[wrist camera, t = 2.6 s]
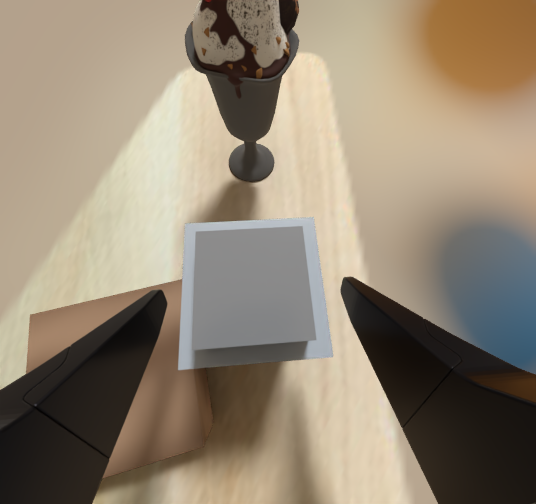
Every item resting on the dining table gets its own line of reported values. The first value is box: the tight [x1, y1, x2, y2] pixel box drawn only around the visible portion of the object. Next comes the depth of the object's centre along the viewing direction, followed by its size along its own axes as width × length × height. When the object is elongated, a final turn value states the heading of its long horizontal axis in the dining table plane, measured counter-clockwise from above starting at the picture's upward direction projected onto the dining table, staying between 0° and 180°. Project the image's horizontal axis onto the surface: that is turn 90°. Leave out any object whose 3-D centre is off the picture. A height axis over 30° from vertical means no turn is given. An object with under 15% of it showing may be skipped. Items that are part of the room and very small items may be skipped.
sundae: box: [185, 0, 299, 181], centre depth 14 cm, size 7×7×15 cm
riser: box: [26, 279, 214, 479], centre depth 14 cm, size 11×11×3 cm
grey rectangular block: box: [178, 217, 333, 370], centre depth 12 cm, size 6×6×11 cm
